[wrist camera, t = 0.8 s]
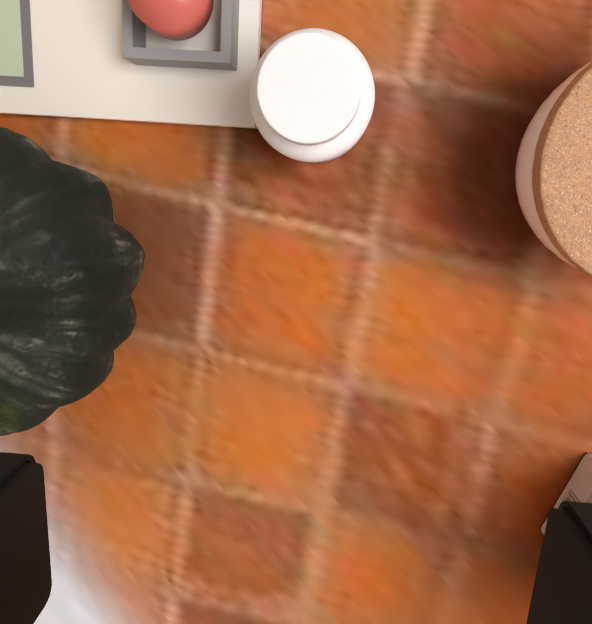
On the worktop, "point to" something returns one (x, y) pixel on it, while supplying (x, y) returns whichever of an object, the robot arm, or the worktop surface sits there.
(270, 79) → the pill bottle
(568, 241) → the lidded jar
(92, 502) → the worktop surface
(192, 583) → the worktop surface
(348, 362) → the worktop surface
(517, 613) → the worktop surface
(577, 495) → the coffee box
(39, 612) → the robot arm
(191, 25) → the button
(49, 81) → the white flat board
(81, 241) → the squash
